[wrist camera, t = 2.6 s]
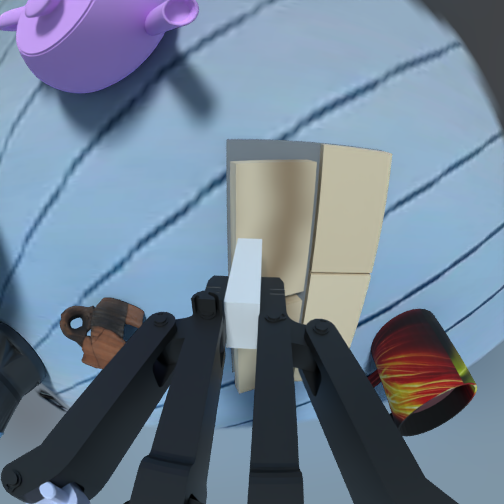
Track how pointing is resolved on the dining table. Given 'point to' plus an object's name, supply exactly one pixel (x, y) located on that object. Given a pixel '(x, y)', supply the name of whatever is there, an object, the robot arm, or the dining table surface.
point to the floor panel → (331, 224)
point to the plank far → (247, 357)
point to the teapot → (92, 37)
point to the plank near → (274, 214)
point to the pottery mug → (101, 328)
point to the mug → (420, 372)
